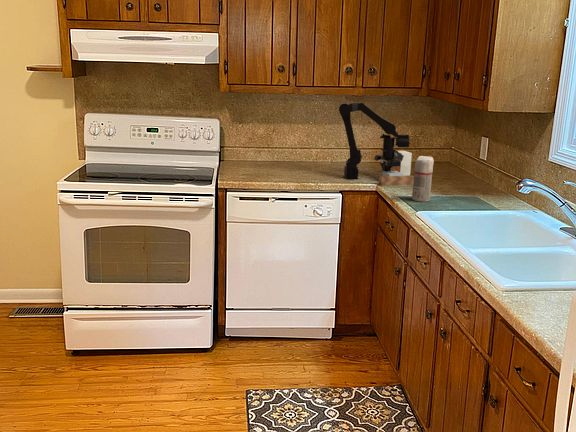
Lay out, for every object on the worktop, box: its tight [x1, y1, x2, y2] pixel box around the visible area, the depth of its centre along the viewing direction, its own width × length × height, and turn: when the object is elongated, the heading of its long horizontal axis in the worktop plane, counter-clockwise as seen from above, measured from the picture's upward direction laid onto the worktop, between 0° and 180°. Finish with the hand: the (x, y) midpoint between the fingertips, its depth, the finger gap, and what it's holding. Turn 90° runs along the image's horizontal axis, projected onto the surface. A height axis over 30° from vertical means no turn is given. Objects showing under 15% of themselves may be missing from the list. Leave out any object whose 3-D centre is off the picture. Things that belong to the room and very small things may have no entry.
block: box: [381, 170, 404, 177], centre depth 319 cm, size 8×8×5 cm
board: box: [378, 174, 414, 187], centre depth 314 cm, size 18×3×4 cm, turn 108°
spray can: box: [411, 155, 435, 203], centre depth 280 cm, size 8×8×20 cm
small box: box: [392, 150, 413, 176], centre depth 336 cm, size 8×6×13 cm
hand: (386, 176), depth 325 cm, fingers closed
